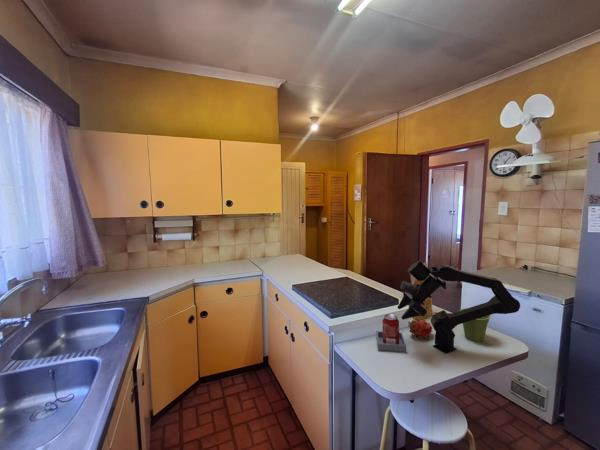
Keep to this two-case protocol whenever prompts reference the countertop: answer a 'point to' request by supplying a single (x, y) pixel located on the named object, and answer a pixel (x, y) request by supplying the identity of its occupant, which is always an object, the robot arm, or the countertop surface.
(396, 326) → the soda can
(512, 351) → the countertop surface
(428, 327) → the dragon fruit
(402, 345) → the box
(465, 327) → the plant pot
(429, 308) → the pancake mix bag
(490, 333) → the countertop surface
